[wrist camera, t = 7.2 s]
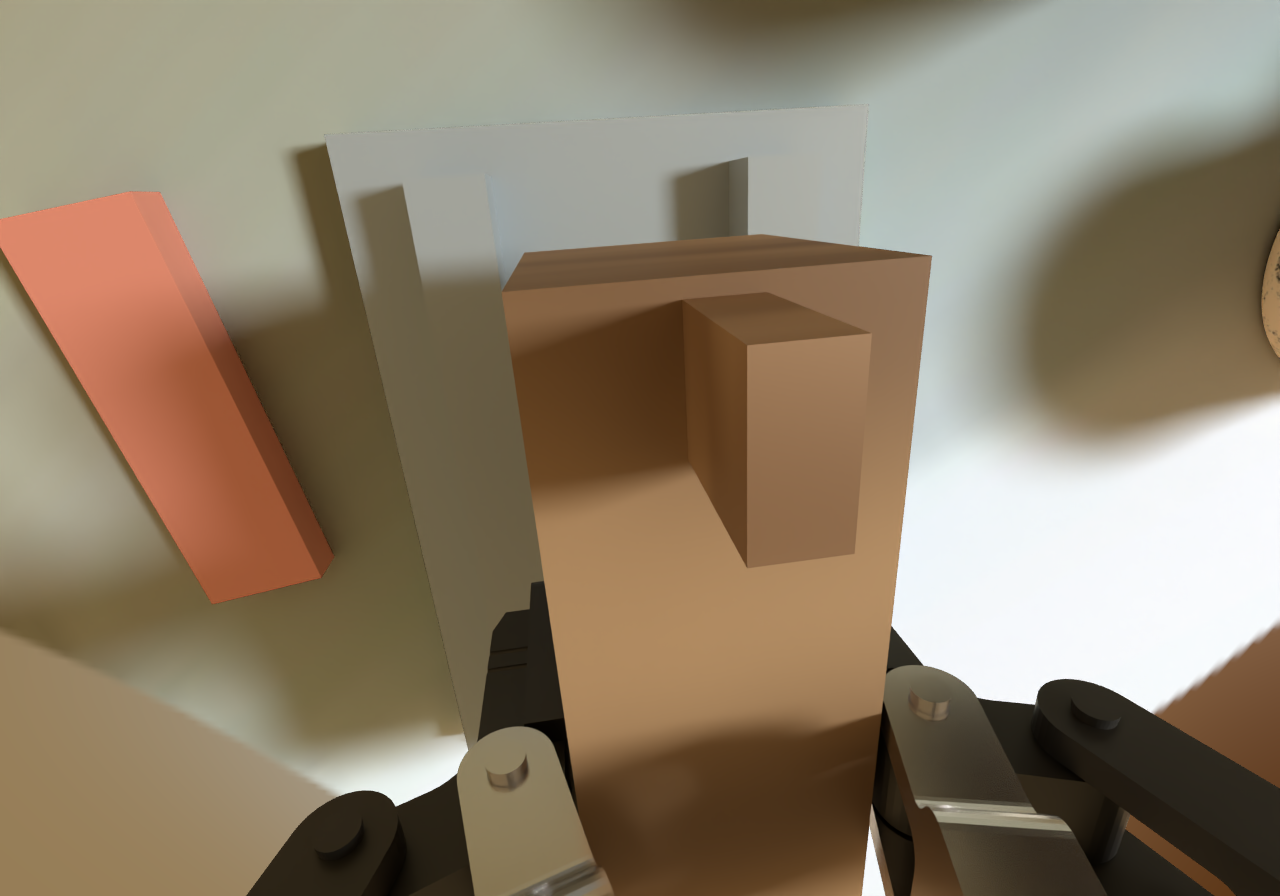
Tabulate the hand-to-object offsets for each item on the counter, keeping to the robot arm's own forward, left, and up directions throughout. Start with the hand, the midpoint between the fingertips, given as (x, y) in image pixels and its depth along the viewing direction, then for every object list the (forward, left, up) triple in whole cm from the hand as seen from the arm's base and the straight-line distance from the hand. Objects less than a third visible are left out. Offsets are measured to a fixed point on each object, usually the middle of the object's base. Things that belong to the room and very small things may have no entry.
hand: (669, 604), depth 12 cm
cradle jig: (0, 0, -6) cm, 6 cm away
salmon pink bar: (-3, -11, -7) cm, 13 cm away
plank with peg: (0, 0, -1) cm, 1 cm away
